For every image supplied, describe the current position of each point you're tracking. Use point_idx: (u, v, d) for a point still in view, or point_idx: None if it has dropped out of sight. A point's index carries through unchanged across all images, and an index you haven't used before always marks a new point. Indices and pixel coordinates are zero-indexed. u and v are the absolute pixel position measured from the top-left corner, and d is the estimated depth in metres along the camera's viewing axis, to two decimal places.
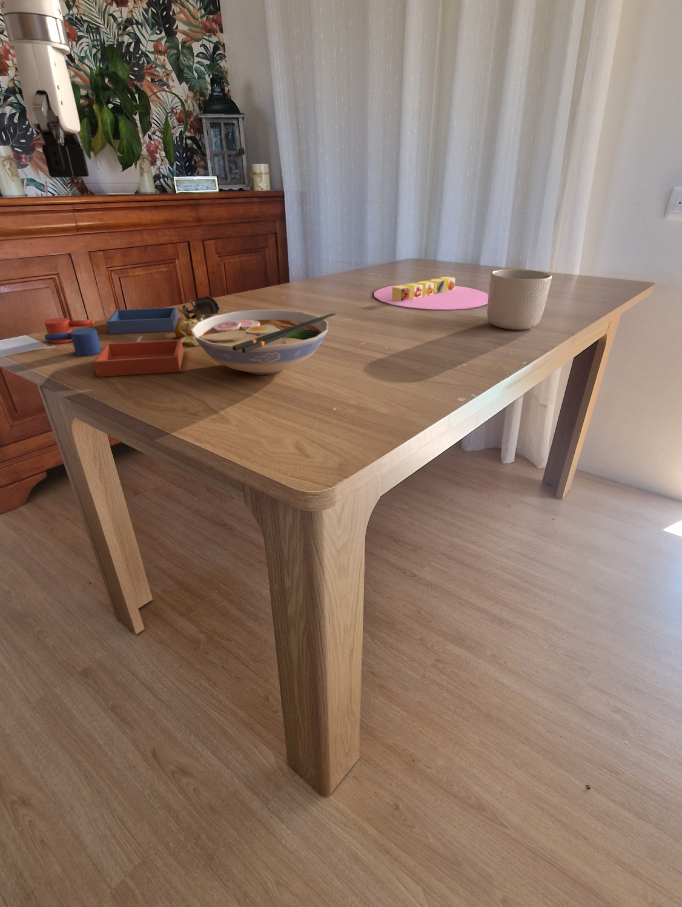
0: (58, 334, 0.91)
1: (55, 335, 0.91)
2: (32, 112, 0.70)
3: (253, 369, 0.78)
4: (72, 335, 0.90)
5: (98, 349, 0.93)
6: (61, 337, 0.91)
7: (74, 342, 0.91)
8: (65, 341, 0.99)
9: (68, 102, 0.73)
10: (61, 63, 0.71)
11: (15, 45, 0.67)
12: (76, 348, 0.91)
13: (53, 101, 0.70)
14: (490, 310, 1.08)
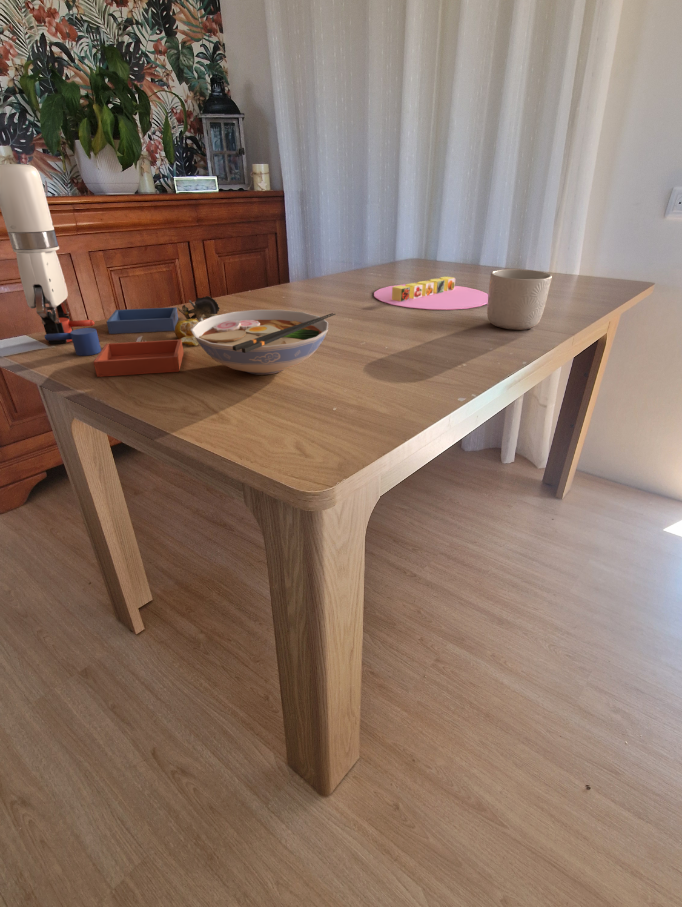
0: (58, 334, 0.91)
1: (55, 335, 0.91)
2: (30, 299, 0.91)
3: (253, 369, 0.78)
4: (72, 335, 0.90)
5: (98, 349, 0.93)
6: (61, 337, 0.91)
7: (74, 342, 0.91)
8: None
9: (58, 285, 0.94)
10: (52, 259, 0.92)
11: (17, 254, 0.88)
12: (76, 348, 0.91)
13: (46, 290, 0.91)
14: (490, 310, 1.08)
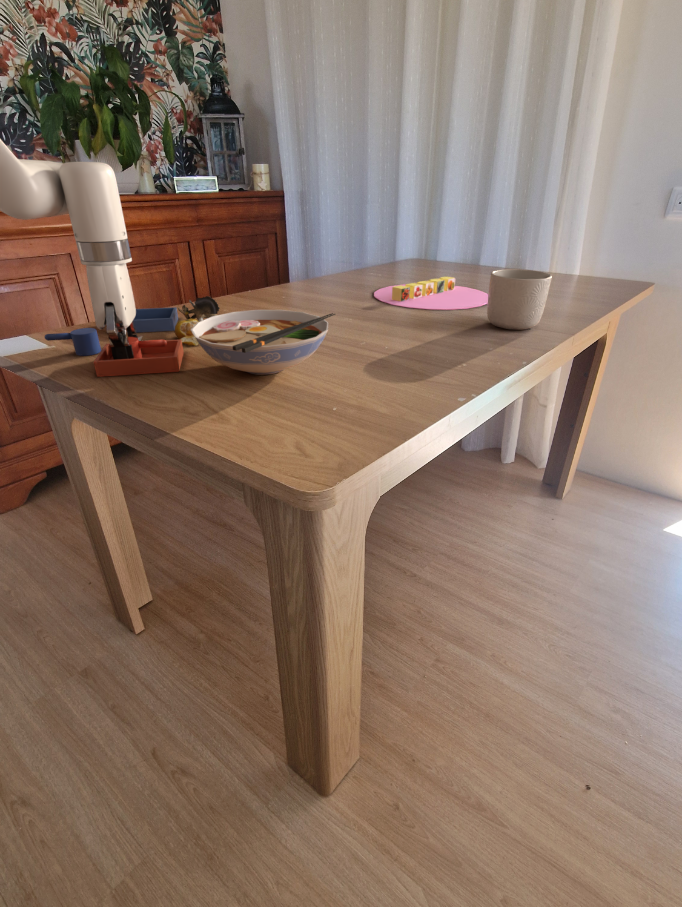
0: (58, 334, 0.91)
1: (55, 335, 0.91)
2: (100, 319, 0.78)
3: (253, 369, 0.78)
4: (72, 335, 0.90)
5: (98, 349, 0.93)
6: (61, 337, 0.91)
7: (74, 342, 0.91)
8: None
9: (129, 302, 0.81)
10: (124, 272, 0.79)
11: (87, 267, 0.75)
12: (76, 348, 0.91)
13: (118, 309, 0.78)
14: (490, 310, 1.08)
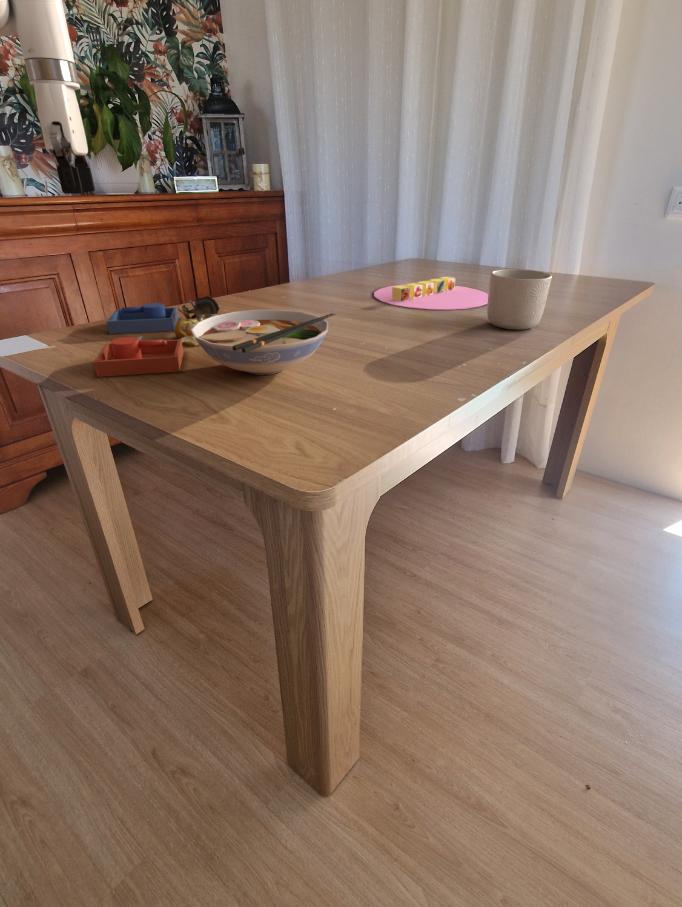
0: (133, 307, 1.07)
1: (130, 308, 1.07)
2: (48, 139, 0.83)
3: (253, 369, 0.78)
4: (145, 308, 1.06)
5: None
6: (135, 310, 1.07)
7: (145, 314, 1.07)
8: None
9: (78, 130, 0.86)
10: (72, 98, 0.84)
11: (35, 84, 0.80)
12: None
13: (66, 130, 0.83)
14: (490, 310, 1.08)
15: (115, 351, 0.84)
